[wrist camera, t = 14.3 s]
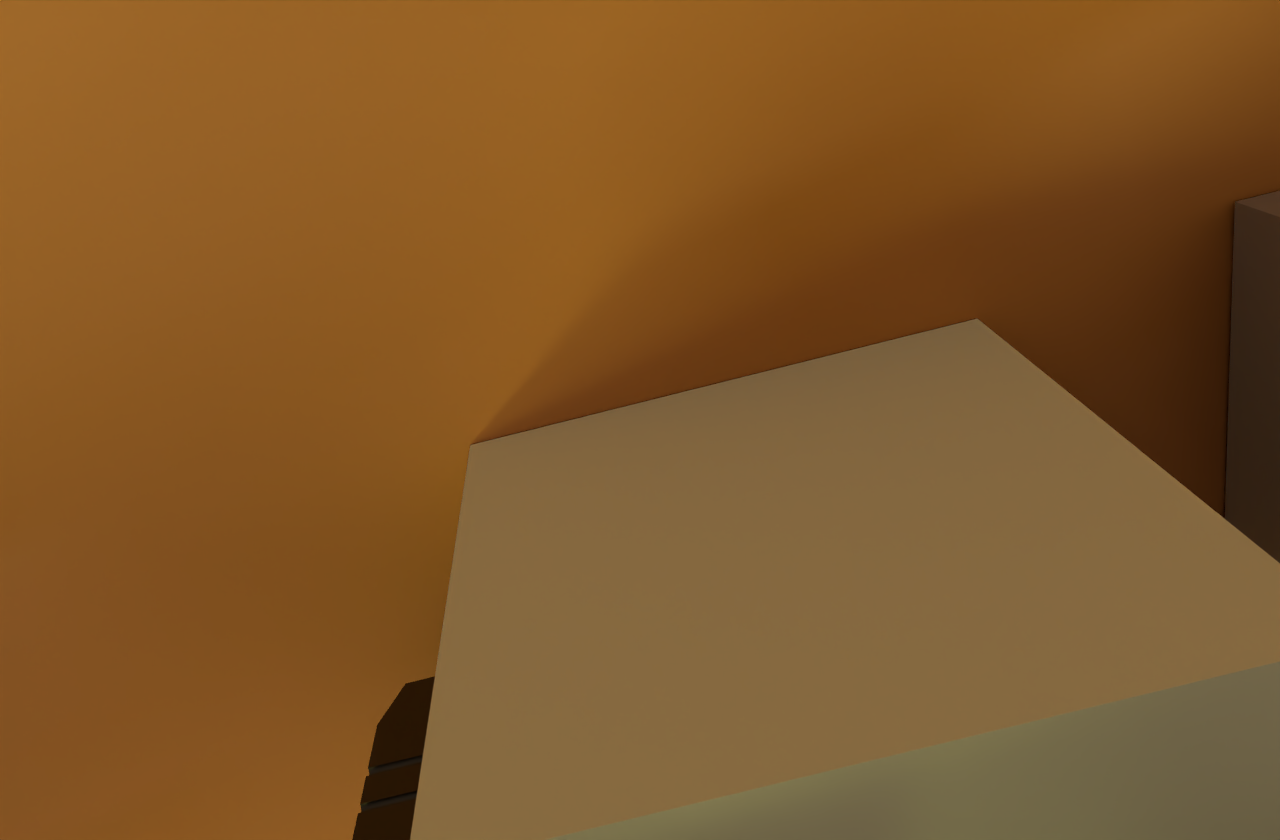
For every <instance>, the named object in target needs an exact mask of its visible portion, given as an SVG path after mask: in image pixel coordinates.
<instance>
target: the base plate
mask: <svg viewBox="0 0 1280 840" xmlns="http://www.w3.org/2000/svg"><path fill="white" fill-rule="evenodd" d="M1225 519H1226V520H1227V521H1228V522H1229V523H1230V524H1232V525H1233V526H1234V527H1235V528H1237V529H1238V530H1239V531H1240V532H1242V533H1243V534H1244V535H1245V536H1247V537H1248V538H1249V539H1250V540H1251V541H1253V542H1254V543H1255V544H1256V545H1258V546H1259V547H1260V548H1261V549H1263V550H1264V551H1265V552H1266V553H1268V554H1269V555H1270V556H1271V557H1272V558H1274V559H1275V560H1276V561H1277V562H1279V563H1280V191H1276V192H1272V193H1268V194H1264V195H1260V196H1256V197H1252V198H1248V199H1244V200H1240V201H1236V202H1235V213H1234V245H1233V276H1232V308H1231V339H1230V371H1229V402H1228V434H1227V466H1226V497H1225Z"/></svg>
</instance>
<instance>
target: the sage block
mask: <svg viewBox="0 0 1280 840" xmlns="http://www.w3.org/2000/svg"><path fill="white" fill-rule="evenodd" d="M410 840H1280V563H1279V562H1277V561H1276V560H1275V559H1274V558H1272V557H1271V556H1270V555H1269V554H1268V553H1266V552H1265V551H1264V550H1263V549H1261V548H1260V547H1259V546H1258V545H1256V544H1255V543H1254V542H1253V541H1251V540H1250V539H1249V538H1248V537H1247V536H1245V535H1244V534H1243V533H1242V532H1240V531H1239V530H1238V529H1237V528H1235V527H1234V526H1233V525H1232V524H1230V523H1229V522H1228V521H1227V520H1226V519H1224V518H1223V517H1222V516H1221V515H1219V514H1218V513H1217V512H1216V511H1214V510H1213V509H1212V508H1211V507H1209V506H1208V505H1207V504H1206V503H1205V502H1203V501H1202V500H1201V499H1200V498H1198V497H1197V496H1196V495H1195V494H1193V493H1192V492H1191V491H1190V490H1188V489H1187V488H1186V487H1185V486H1184V485H1182V484H1181V483H1180V482H1179V481H1177V480H1176V479H1175V478H1174V477H1172V476H1171V475H1170V474H1169V473H1168V472H1166V471H1165V470H1164V469H1163V468H1161V467H1160V466H1159V465H1158V464H1156V463H1155V462H1154V461H1153V460H1151V459H1150V458H1149V457H1148V456H1147V455H1145V454H1144V453H1143V452H1142V451H1140V450H1139V449H1138V448H1137V447H1135V446H1134V445H1133V444H1132V443H1130V442H1129V441H1128V440H1127V439H1126V438H1124V437H1123V436H1122V435H1121V434H1119V433H1118V432H1117V431H1116V430H1114V429H1113V428H1112V427H1111V426H1109V425H1108V424H1107V423H1106V422H1105V421H1103V420H1102V419H1101V418H1100V417H1098V416H1097V415H1096V414H1095V413H1093V412H1092V411H1091V410H1090V409H1088V408H1087V407H1086V406H1085V405H1084V404H1082V403H1081V402H1080V401H1079V400H1077V399H1076V398H1075V397H1074V396H1072V395H1071V394H1070V393H1069V392H1067V391H1066V390H1065V389H1064V388H1063V387H1061V386H1060V385H1059V384H1058V383H1056V382H1055V381H1054V380H1053V379H1051V378H1050V377H1049V376H1048V375H1047V374H1045V373H1044V372H1043V371H1042V370H1040V369H1039V368H1038V367H1037V366H1035V365H1034V364H1033V363H1032V362H1030V361H1029V360H1028V359H1027V358H1026V357H1024V356H1023V355H1022V354H1021V353H1019V352H1018V351H1017V350H1016V349H1014V348H1013V347H1012V346H1011V345H1009V344H1008V343H1007V342H1006V341H1005V340H1003V339H1002V338H1001V337H1000V336H998V335H997V334H996V333H995V332H993V331H992V330H991V329H990V328H988V327H987V326H986V325H985V324H984V323H982V322H981V321H980V320H979V319H974V320H970V321H966V322H962V323H957V324H953V325H949V326H945V327H941V328H937V329H933V330H929V331H925V332H921V333H917V334H913V335H909V336H905V337H901V338H897V339H893V340H889V341H885V342H881V343H877V344H873V345H869V346H865V347H861V348H857V349H853V350H849V351H845V352H841V353H837V354H833V355H829V356H825V357H821V358H817V359H813V360H809V361H805V362H801V363H797V364H793V365H789V366H785V367H781V368H777V369H773V370H769V371H765V372H761V373H757V374H753V375H749V376H745V377H741V378H737V379H733V380H729V381H725V382H721V383H717V384H713V385H709V386H705V387H701V388H697V389H693V390H689V391H685V392H681V393H677V394H673V395H669V396H665V397H661V398H657V399H653V400H649V401H645V402H641V403H637V404H633V405H629V406H625V407H621V408H617V409H613V410H609V411H605V412H601V413H597V414H593V415H589V416H585V417H581V418H577V419H573V420H569V421H565V422H561V423H557V424H553V425H549V426H545V427H541V428H537V429H533V430H529V431H525V432H521V433H517V434H513V435H509V436H505V437H501V438H497V439H493V440H489V441H485V442H481V443H477V444H473V445H470V450H469V457H468V464H467V470H466V477H465V483H464V490H463V496H462V503H461V509H460V516H459V522H458V529H457V536H456V542H455V549H454V555H453V562H452V568H451V575H450V581H449V588H448V594H447V601H446V608H445V614H444V621H443V627H442V634H441V640H440V647H439V653H438V660H437V666H436V673H435V680H434V686H433V693H432V699H431V706H430V712H429V719H428V725H427V732H426V739H425V745H424V752H423V758H422V765H421V771H420V778H419V784H418V791H417V797H416V804H415V811H414V817H413V824H412V830H411V837H410Z"/></svg>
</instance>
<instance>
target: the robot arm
mask: <svg viewBox="0 0 1280 840" xmlns="http://www.w3.org/2000/svg"><path fill="white" fill-rule="evenodd" d="M434 680H435V677H431V678H427V679H423V680H419V681H415V682H410V683H406V684H405V686H404V687H403V688H402V690H401V691H400V693H399V694H398V696H397V697H396V699H395V700H394V702H393V703H392V704H391V706H390V707H389V709H388V710H387V712H386V713H385V715H384V716H383V718H382V719H381V721H380V722H379V723H378V725H377V729H376V734H375V738H374V743H373V748H372V752H371V757H370V761H369V766H368V769H369V776H366V780H365V784H364V789H363V793H362V798H361V803H360V805H361V813H358V816H357V821H356V826H355V830H354V835H353V839H352V840H410V837H411V830H412V824H413V817H414V811H415V804H416V797H417V791H418V784H419V778H420V771H421V765H422V758H423V752H424V745H425V739H426V732H427V725H428V719H429V712H430V706H431V699H432V693H433V686H434Z"/></svg>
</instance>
